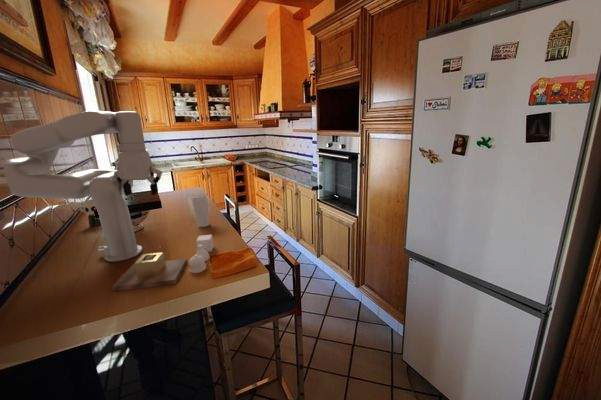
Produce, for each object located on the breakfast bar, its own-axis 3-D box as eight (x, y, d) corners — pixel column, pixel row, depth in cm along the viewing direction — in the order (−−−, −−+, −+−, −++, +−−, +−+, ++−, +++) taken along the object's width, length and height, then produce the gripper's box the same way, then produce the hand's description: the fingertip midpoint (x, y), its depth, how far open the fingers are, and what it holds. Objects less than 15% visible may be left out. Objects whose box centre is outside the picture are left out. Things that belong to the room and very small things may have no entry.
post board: (113, 291, 85) (108, 271, 83) (134, 268, 98) (129, 251, 96) (175, 283, 86) (171, 264, 85) (187, 262, 100) (184, 245, 98)
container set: (200, 248, 111) (198, 235, 110) (214, 247, 112) (212, 234, 110) (188, 274, 92) (185, 259, 91) (204, 272, 93) (201, 257, 91)
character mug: (81, 228, 143) (74, 204, 139) (87, 224, 149) (81, 200, 146) (106, 225, 146) (100, 201, 142) (110, 221, 152) (105, 197, 149)
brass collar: (137, 277, 89) (134, 263, 87) (145, 267, 95) (142, 254, 93) (158, 275, 89) (155, 261, 88) (165, 265, 95) (162, 252, 94)
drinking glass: (213, 224, 137) (209, 194, 133) (202, 229, 132) (197, 198, 128) (204, 222, 141) (200, 193, 137) (193, 227, 135) (188, 196, 131)
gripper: (102, 149, 97) (112, 197, 101) (152, 148, 96) (160, 196, 101) (115, 147, 104) (124, 192, 108) (162, 146, 104) (169, 191, 108)
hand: (141, 194), depth 105 cm, fingers open, 9 cm apart
